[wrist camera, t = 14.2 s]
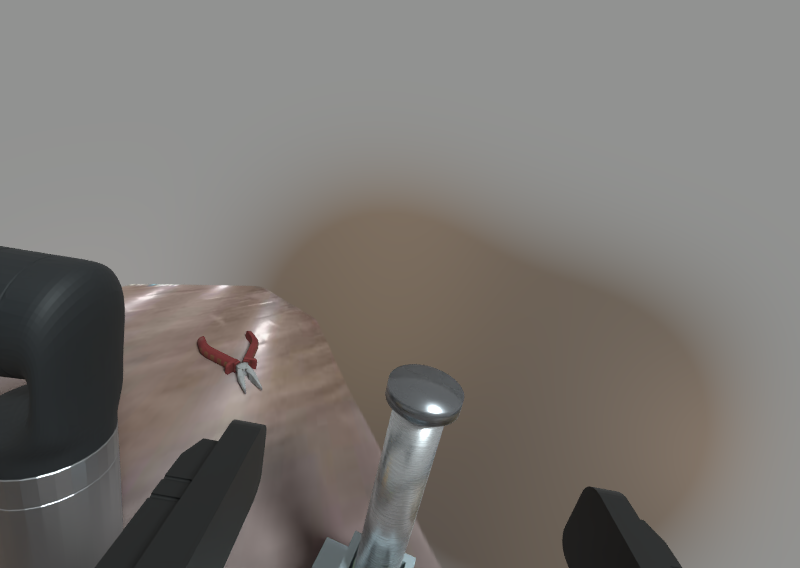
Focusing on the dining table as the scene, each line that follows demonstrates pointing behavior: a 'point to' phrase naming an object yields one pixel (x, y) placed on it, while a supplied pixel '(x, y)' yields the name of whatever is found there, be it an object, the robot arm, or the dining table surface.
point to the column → (406, 460)
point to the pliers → (234, 360)
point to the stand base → (347, 554)
